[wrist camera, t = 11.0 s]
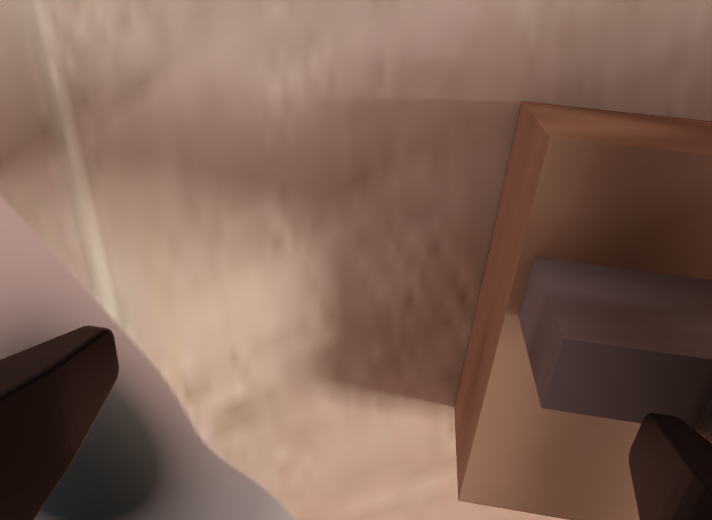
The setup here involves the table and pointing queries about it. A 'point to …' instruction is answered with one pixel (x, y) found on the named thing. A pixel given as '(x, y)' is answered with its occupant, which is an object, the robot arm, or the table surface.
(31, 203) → the table surface
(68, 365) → the robot arm
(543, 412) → the hitch block
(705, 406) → the brass bolt
